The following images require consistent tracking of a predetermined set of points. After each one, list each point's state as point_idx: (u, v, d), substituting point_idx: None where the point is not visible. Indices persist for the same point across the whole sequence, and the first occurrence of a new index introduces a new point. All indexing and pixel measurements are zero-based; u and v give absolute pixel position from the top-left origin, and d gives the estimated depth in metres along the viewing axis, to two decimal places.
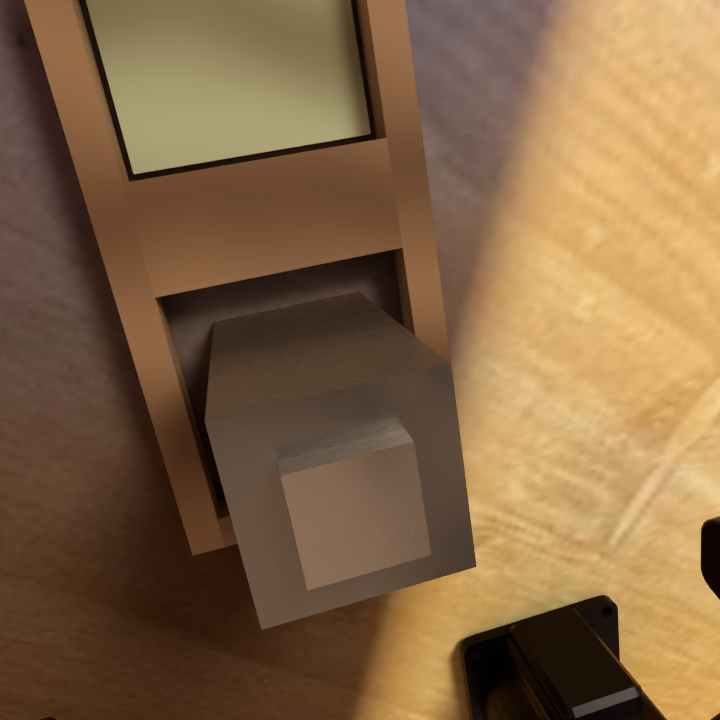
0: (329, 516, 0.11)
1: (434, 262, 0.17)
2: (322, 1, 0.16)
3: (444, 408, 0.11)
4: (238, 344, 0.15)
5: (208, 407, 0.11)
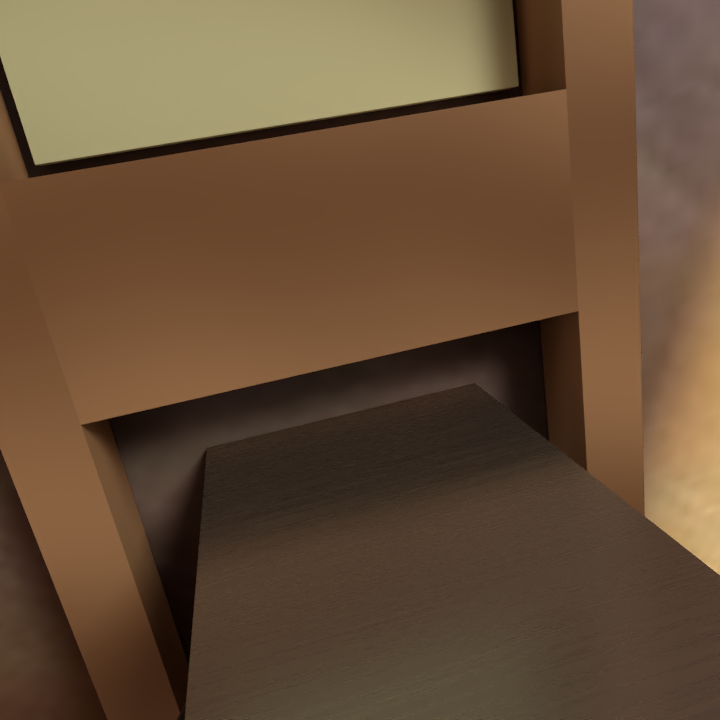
0: None
1: (634, 337, 0.09)
2: None
3: None
4: (260, 558, 0.06)
5: None
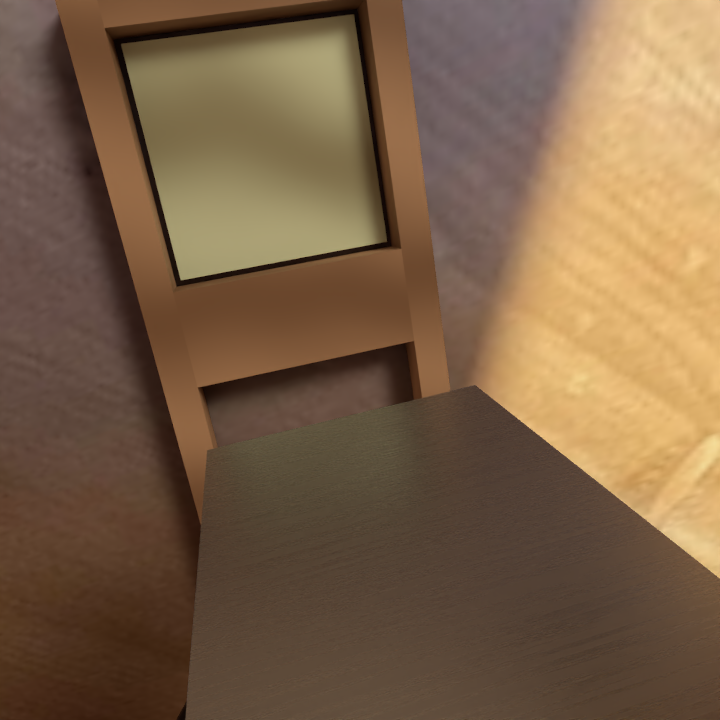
0: None
1: (442, 352, 0.20)
2: (346, 133, 0.18)
3: None
4: (260, 561, 0.06)
5: None
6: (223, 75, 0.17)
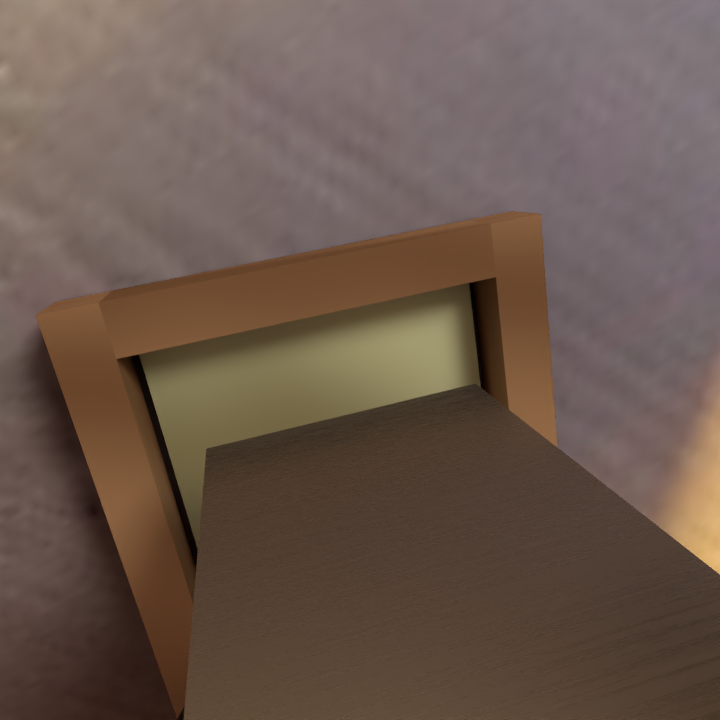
0: None
1: None
2: None
3: None
4: (260, 559, 0.06)
5: None
6: (284, 378, 0.12)
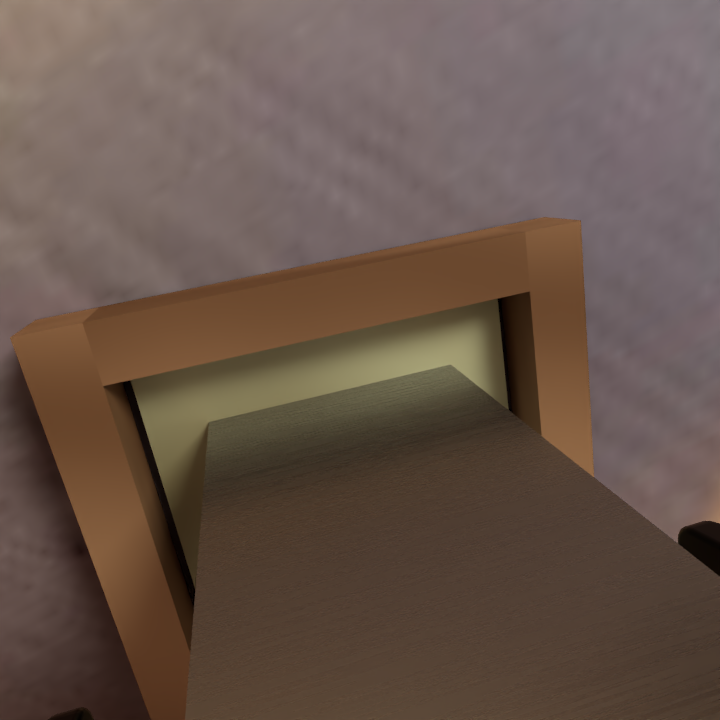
0: None
1: None
2: None
3: None
4: (255, 505, 0.07)
5: None
6: None
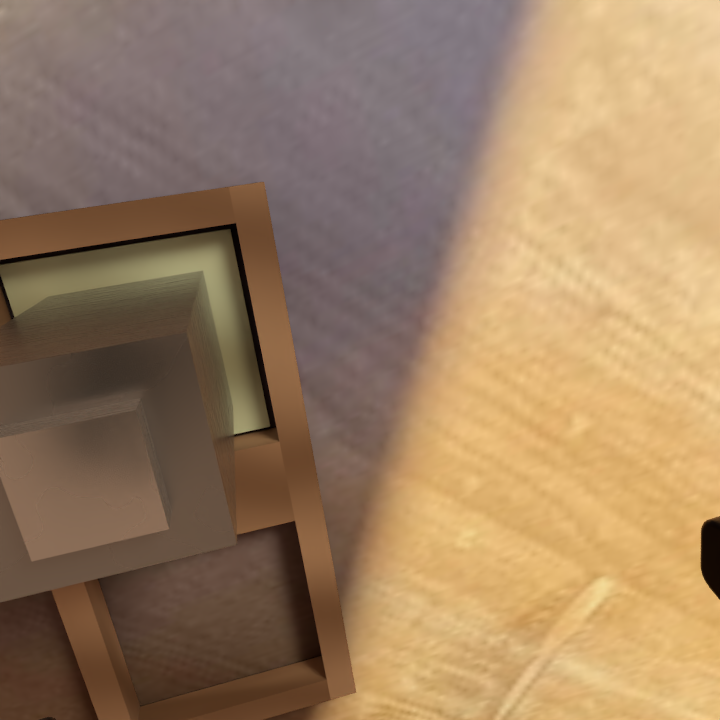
0: (47, 485, 0.10)
1: (323, 529, 0.20)
2: (226, 334, 0.19)
3: (184, 379, 0.11)
4: (39, 315, 0.14)
5: None
6: None
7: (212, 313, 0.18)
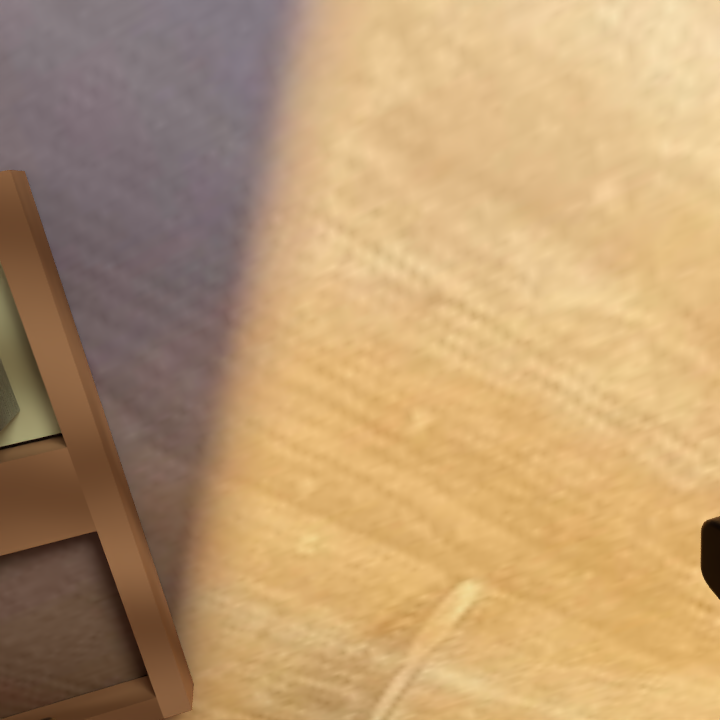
0: None
1: (130, 539, 0.19)
2: (1, 334, 0.18)
3: None
4: None
5: None
6: None
7: None
